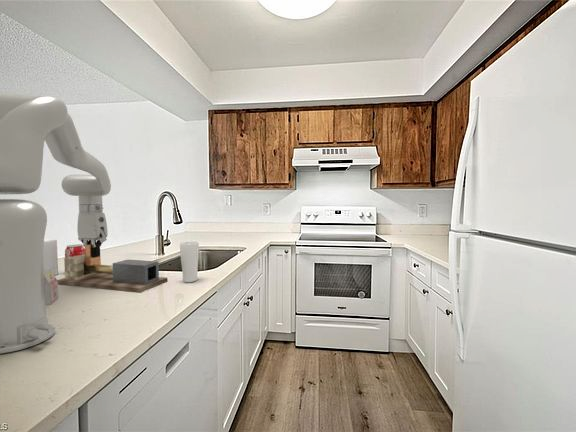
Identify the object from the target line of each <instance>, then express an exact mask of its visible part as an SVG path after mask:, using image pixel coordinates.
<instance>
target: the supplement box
mask: <svg viewBox="0 0 576 432" xmlns="http://www.w3.org/2000/svg"><path fill="white" fill-rule="evenodd" d="M58 262H59V260H58V240H57V239H53V238H52V239H49V238H48V239H47V238H44V245H43V263H44V271H45V270H47V269H48V268H51V270H52V272H53V274H54V276H57V275H59V263H58Z"/></svg>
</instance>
